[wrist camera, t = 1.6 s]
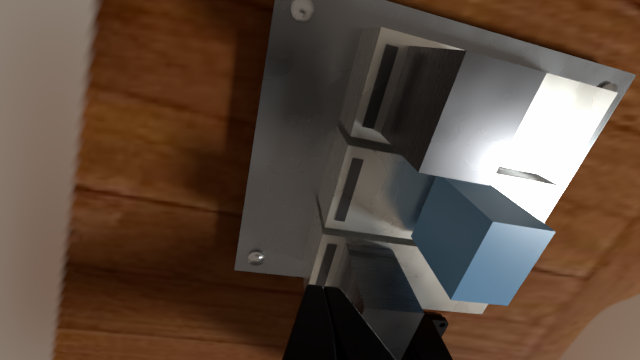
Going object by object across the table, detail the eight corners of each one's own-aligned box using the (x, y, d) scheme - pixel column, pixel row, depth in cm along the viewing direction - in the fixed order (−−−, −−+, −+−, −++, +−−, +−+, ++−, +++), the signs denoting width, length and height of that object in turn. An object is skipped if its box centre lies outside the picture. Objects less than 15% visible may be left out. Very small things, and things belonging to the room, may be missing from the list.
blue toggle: (455, 242, 15) (507, 305, 12) (410, 236, 15) (450, 300, 11) (486, 181, 14) (555, 231, 10) (437, 172, 14) (493, 221, 10)
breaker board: (485, 282, 24) (580, 399, 16) (237, 254, 20) (209, 387, 13) (609, 71, 17) (861, 100, 10) (279, -25, 14) (274, -99, 6)
